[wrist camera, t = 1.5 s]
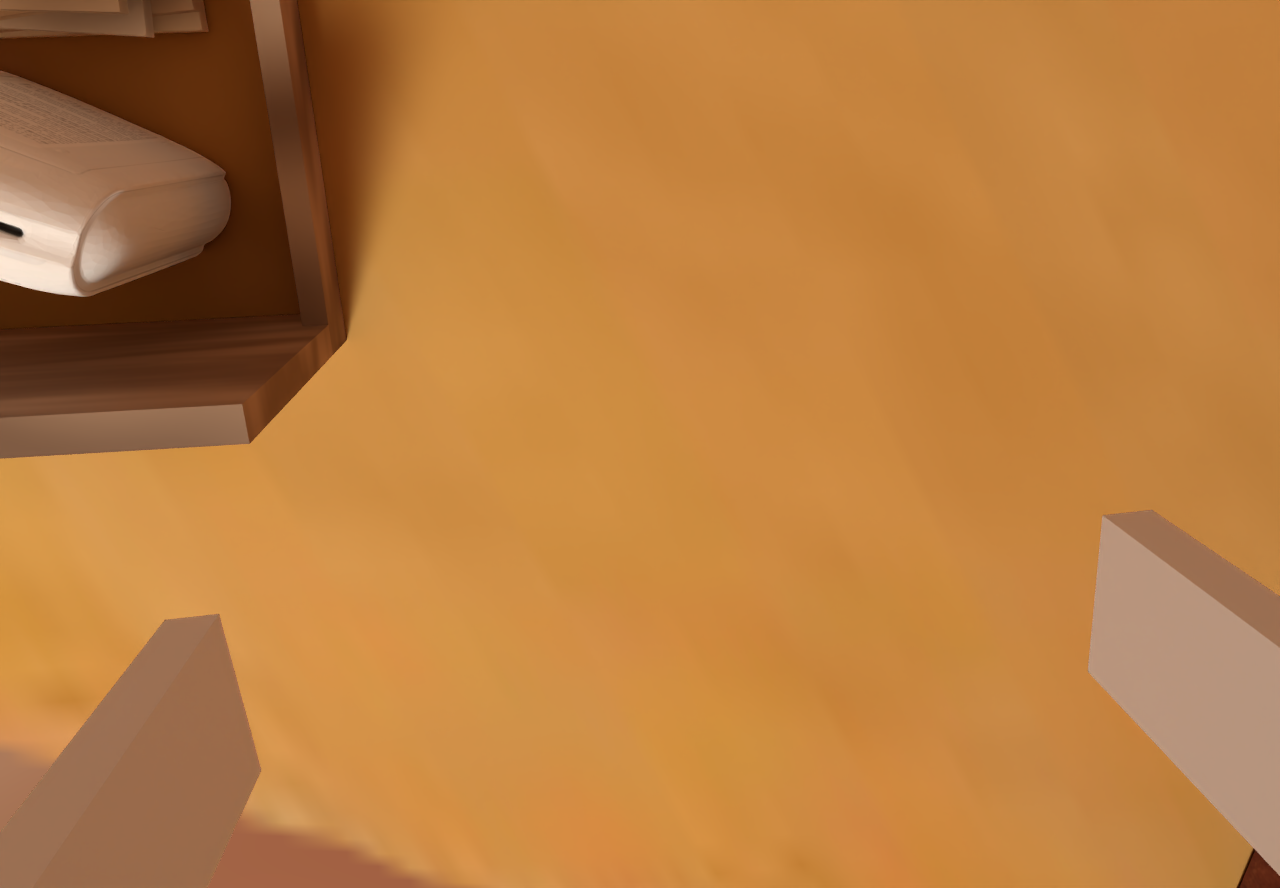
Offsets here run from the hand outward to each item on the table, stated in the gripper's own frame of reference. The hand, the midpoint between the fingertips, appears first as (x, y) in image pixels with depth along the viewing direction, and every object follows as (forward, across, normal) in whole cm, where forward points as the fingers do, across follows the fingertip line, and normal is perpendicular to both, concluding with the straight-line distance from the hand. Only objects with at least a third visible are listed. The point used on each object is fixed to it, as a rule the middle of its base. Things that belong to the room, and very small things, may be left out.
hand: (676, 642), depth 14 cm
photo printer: (+28, -19, +7) cm, 34 cm away
